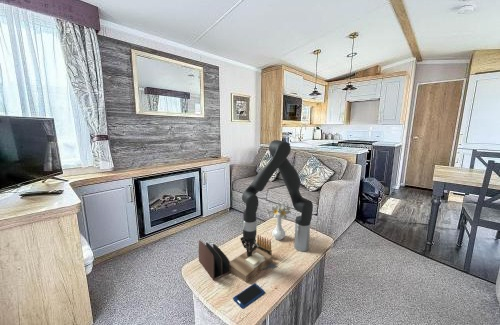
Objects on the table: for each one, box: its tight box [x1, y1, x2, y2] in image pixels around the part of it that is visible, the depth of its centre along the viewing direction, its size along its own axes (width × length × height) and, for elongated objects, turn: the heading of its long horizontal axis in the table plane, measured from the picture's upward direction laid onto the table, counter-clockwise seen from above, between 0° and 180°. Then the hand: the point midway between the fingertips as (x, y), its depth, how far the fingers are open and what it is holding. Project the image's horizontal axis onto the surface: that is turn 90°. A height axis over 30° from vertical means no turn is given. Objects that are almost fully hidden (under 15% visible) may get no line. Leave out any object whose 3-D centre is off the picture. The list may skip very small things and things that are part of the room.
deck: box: [229, 248, 273, 283], centre depth 114 cm, size 22×14×4 cm, turn 137°
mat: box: [262, 262, 279, 271], centre depth 107 cm, size 20×9×1 cm, turn 137°
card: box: [245, 252, 265, 269], centre depth 112 cm, size 9×6×2 cm, turn 136°
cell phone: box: [232, 283, 266, 309], centre depth 94 cm, size 7×14×1 cm, turn 131°
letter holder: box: [198, 240, 231, 281], centre depth 113 cm, size 10×20×14 cm, turn 35°
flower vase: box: [264, 202, 292, 241], centre depth 142 cm, size 13×18×25 cm
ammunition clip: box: [256, 234, 273, 257], centre depth 124 cm, size 11×2×12 cm, turn 51°
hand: (249, 256), depth 115 cm, fingers closed
